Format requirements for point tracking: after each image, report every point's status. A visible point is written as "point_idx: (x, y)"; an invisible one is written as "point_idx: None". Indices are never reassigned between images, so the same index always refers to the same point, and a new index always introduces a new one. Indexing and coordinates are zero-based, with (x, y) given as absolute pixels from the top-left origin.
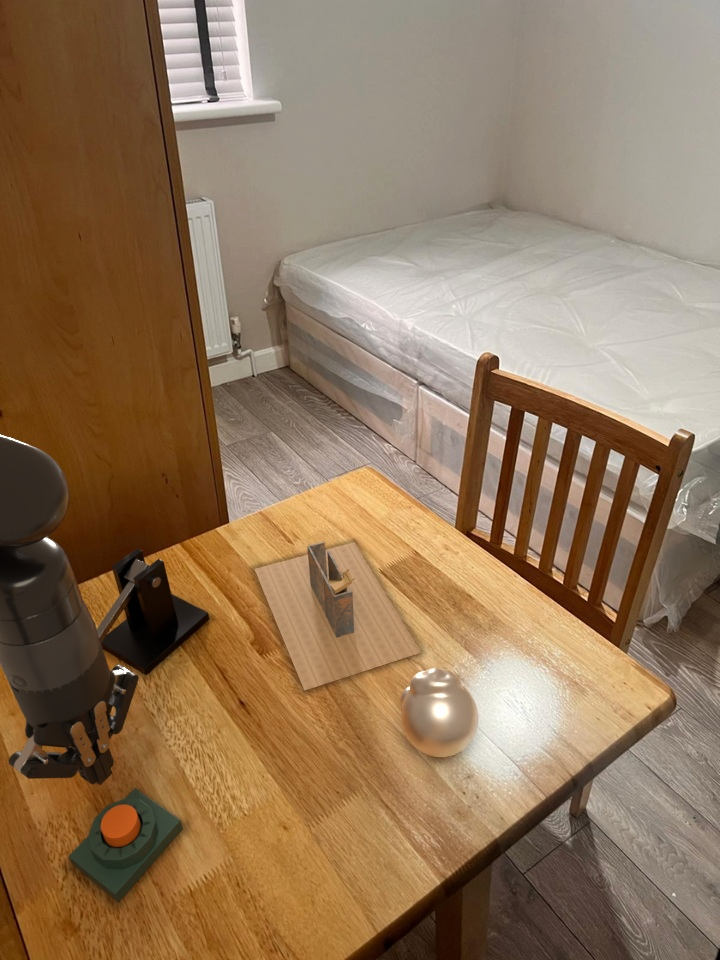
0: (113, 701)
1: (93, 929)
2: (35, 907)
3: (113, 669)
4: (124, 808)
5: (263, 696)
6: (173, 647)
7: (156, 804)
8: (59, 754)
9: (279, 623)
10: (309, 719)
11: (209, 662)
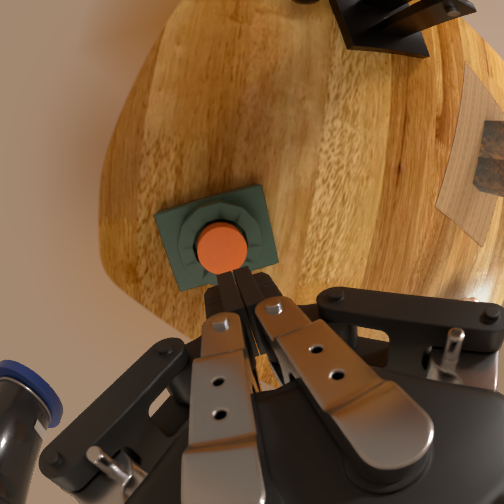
0: (401, 356)
1: (151, 290)
2: (110, 231)
3: (497, 333)
4: (237, 239)
5: (414, 179)
6: (387, 51)
7: (269, 225)
8: (179, 371)
9: (458, 125)
10: (419, 236)
11: (402, 96)
